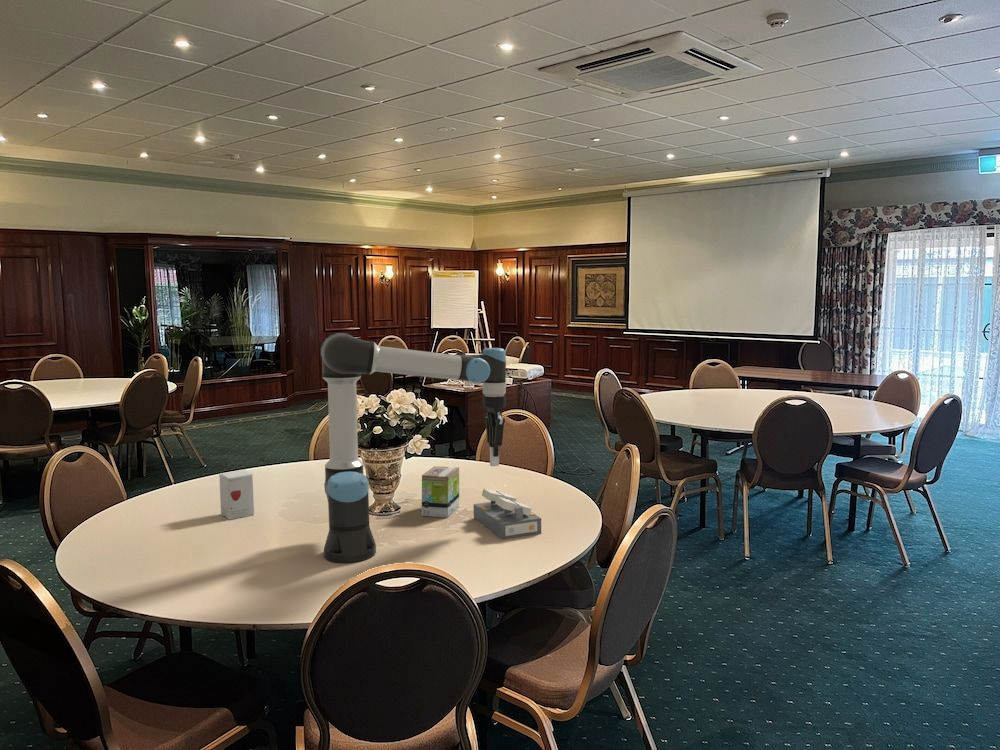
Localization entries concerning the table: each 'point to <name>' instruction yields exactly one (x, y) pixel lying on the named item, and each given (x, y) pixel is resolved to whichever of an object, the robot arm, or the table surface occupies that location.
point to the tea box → (440, 491)
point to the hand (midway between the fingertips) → (494, 465)
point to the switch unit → (506, 520)
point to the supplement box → (236, 494)
